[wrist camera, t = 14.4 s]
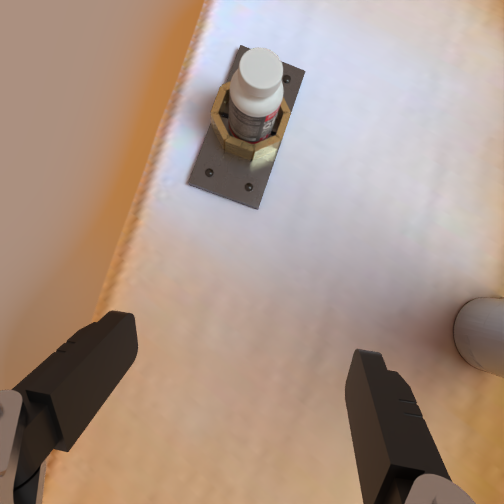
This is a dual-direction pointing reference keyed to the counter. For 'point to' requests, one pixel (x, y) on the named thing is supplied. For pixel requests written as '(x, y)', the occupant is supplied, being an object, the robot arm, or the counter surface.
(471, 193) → the counter surface
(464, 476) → the counter surface
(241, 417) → the counter surface
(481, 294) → the counter surface
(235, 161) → the octagonal bottle holder
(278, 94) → the pill bottle
